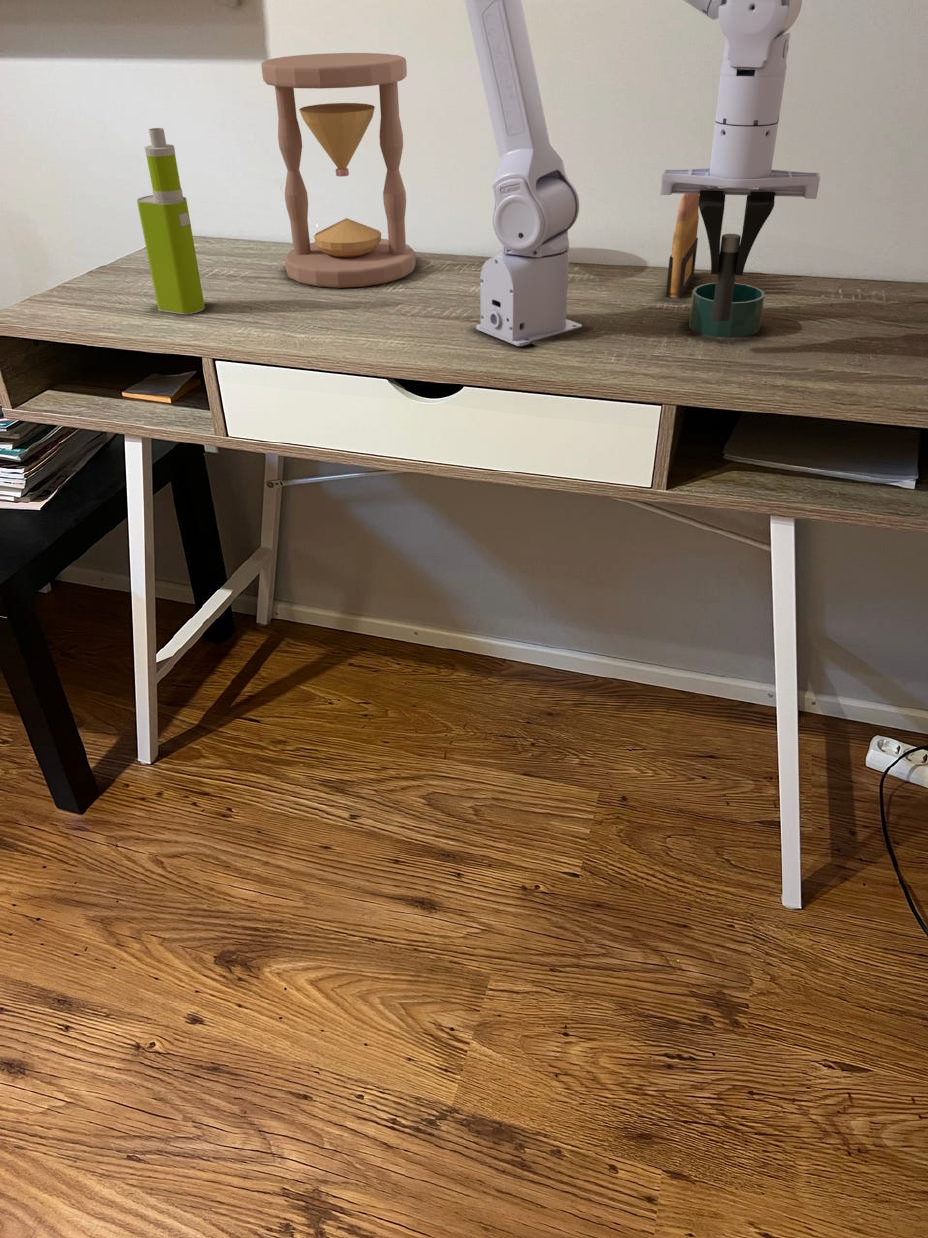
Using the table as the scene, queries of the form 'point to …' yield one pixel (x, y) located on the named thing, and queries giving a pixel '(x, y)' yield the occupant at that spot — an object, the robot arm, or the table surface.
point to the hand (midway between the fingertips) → (726, 272)
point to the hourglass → (342, 167)
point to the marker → (726, 277)
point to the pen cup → (741, 317)
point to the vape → (169, 233)
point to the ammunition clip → (683, 246)
